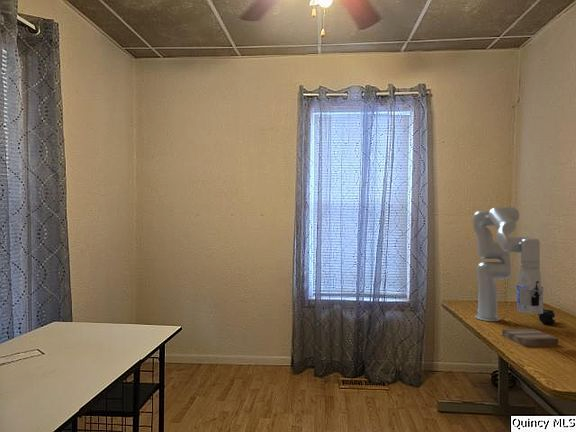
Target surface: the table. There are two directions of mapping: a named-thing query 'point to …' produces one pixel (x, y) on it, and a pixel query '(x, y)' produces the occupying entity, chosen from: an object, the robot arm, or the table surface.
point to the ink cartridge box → (527, 301)
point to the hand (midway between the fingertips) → (529, 303)
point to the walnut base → (530, 337)
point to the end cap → (547, 317)
